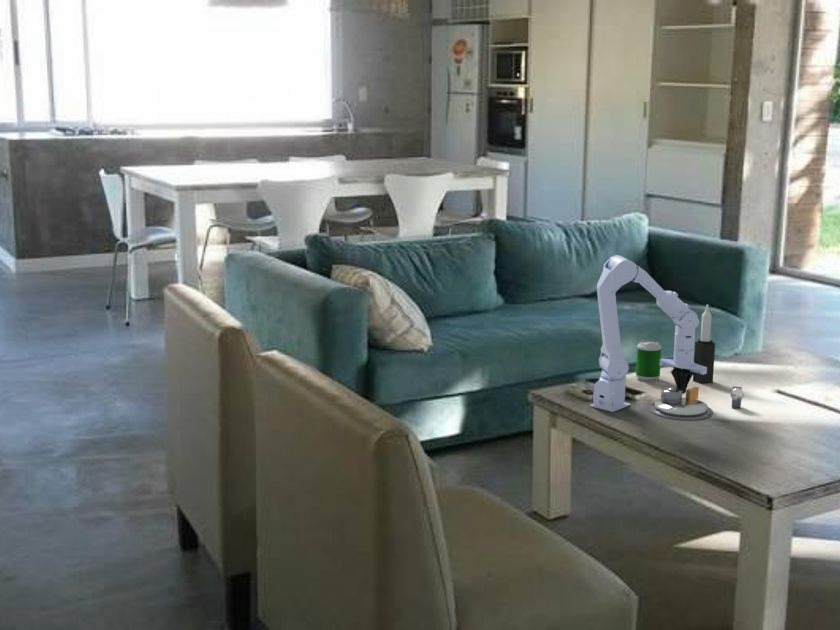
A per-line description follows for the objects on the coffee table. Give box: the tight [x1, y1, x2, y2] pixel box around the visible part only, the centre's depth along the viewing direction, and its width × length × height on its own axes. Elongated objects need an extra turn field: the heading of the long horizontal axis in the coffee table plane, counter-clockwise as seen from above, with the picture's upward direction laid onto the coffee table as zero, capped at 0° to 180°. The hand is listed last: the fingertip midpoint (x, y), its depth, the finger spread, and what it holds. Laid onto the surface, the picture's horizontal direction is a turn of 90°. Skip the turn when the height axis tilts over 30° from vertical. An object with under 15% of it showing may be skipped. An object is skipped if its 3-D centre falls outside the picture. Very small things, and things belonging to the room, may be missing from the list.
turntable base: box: [648, 402, 714, 421], centre depth 306 cm, size 18×18×1 cm
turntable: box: [654, 386, 709, 417], centre depth 306 cm, size 16×15×5 cm
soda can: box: [635, 340, 662, 383], centre depth 337 cm, size 8×8×12 cm
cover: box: [660, 387, 683, 405], centre depth 308 cm, size 6×6×4 cm
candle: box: [692, 304, 716, 385], centre depth 333 cm, size 5×5×25 cm
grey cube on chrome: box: [730, 385, 745, 410], centre depth 308 cm, size 3×4×6 cm
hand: (681, 393), depth 313 cm, fingers closed
